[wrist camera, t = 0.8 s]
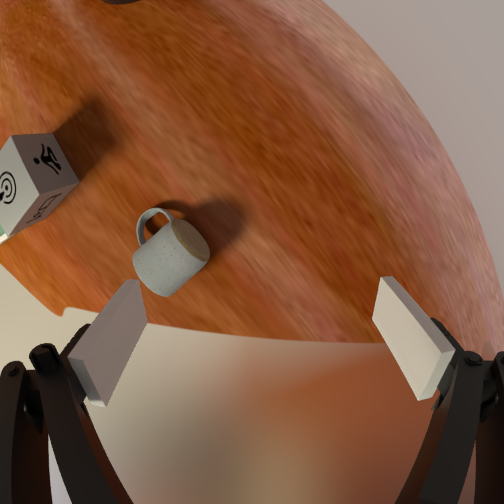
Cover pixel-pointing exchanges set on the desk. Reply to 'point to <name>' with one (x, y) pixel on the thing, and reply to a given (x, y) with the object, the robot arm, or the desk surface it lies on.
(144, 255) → the ceramic mug
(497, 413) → the robot arm
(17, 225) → the icon cube
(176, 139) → the desk surface
